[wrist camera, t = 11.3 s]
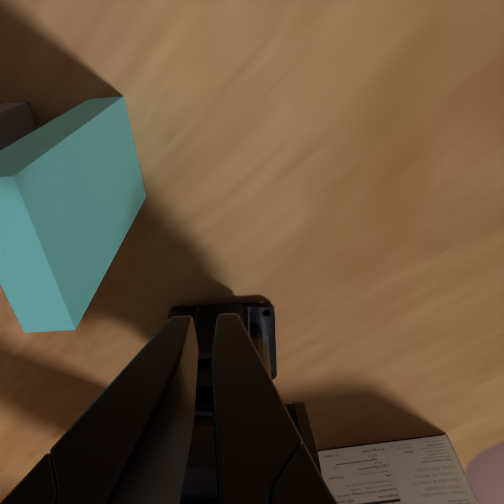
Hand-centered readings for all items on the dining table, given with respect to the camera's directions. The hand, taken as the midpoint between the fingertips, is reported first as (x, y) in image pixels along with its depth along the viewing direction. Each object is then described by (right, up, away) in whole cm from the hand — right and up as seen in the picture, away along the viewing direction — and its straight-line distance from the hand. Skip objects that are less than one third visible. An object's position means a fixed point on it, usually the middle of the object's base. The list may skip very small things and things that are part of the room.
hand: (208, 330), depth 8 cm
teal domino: (-6, +7, +11) cm, 14 cm away
